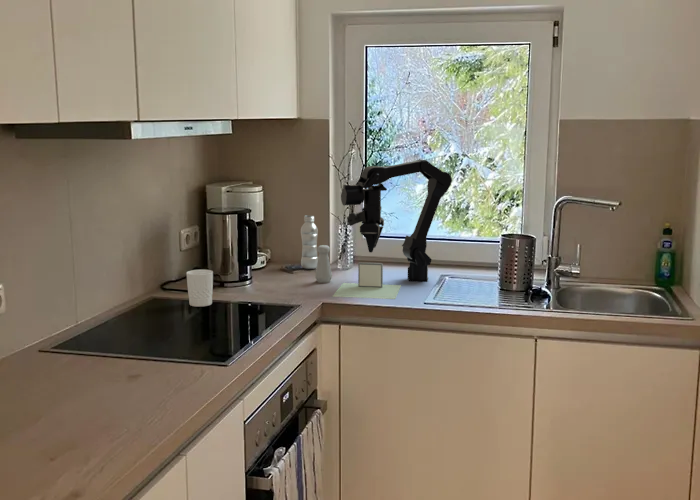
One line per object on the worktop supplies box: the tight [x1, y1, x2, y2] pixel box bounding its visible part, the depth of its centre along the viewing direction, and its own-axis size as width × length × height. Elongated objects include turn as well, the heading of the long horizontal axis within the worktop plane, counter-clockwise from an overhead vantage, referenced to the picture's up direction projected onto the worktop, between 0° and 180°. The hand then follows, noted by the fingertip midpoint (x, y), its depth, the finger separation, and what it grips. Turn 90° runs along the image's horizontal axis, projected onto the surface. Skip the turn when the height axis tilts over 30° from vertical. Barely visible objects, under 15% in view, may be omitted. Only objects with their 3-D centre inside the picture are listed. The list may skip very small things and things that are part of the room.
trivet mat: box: [331, 282, 402, 300], centre depth 246 cm, size 20×20×1 cm
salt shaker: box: [314, 244, 333, 284], centre depth 258 cm, size 6×6×13 cm
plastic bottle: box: [300, 215, 319, 270], centre depth 282 cm, size 6×7×20 cm
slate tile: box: [357, 261, 384, 288], centre depth 251 cm, size 8×2×8 cm, turn 81°
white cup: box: [185, 269, 214, 308], centre depth 229 cm, size 8×8×10 cm
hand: (372, 249), depth 255 cm, fingers open, 9 cm apart
